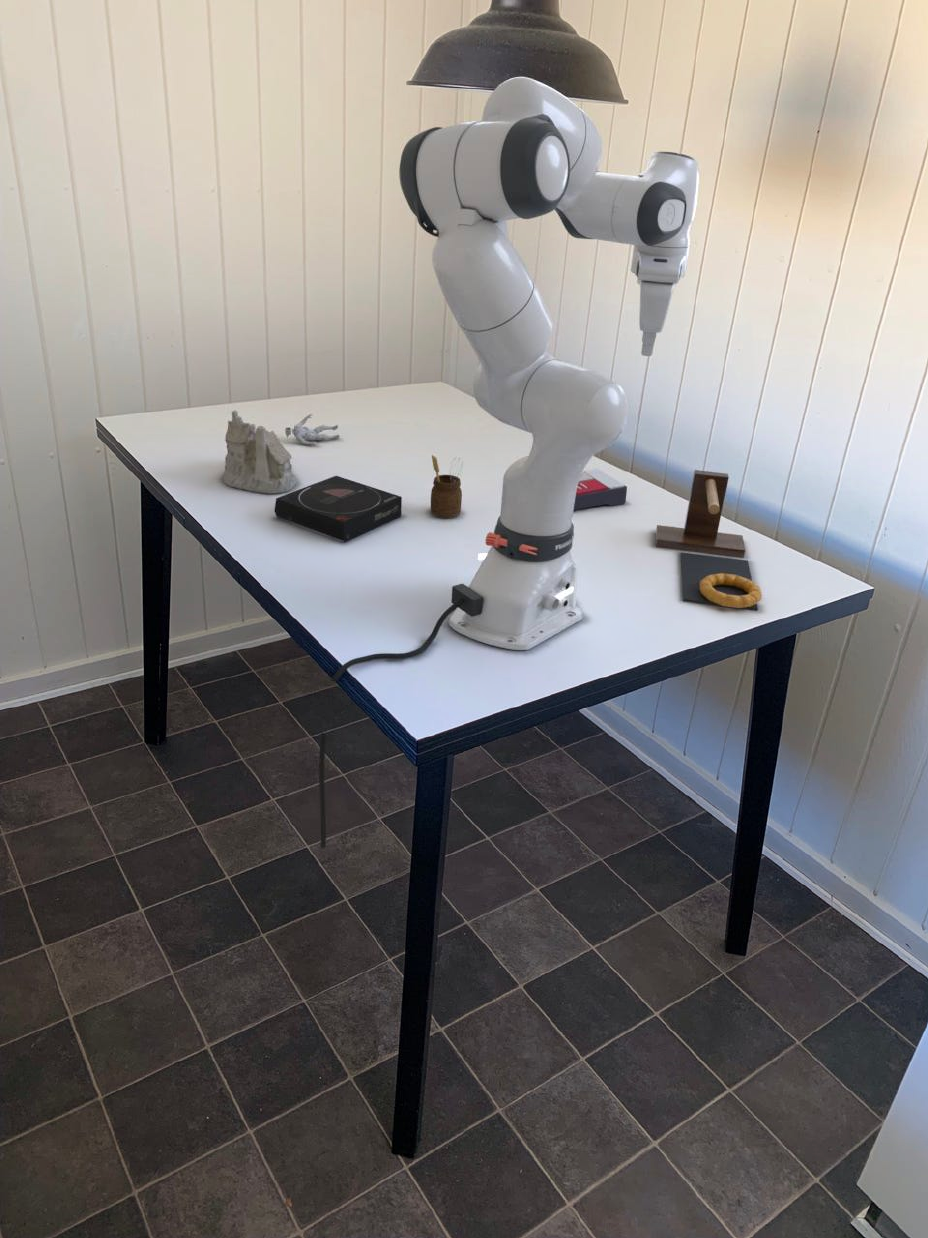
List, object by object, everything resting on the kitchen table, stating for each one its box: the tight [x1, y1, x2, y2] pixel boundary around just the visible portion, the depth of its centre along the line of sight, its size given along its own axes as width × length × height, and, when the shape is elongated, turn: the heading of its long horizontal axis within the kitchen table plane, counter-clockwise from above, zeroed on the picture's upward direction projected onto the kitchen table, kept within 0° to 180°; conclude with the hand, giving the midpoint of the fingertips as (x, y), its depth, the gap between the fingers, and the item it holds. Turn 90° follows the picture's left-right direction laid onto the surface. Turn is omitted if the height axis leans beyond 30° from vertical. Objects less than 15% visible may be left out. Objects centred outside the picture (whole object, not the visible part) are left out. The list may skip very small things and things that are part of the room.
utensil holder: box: [430, 454, 464, 519], centre depth 182 cm, size 6×6×12 cm
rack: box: [655, 469, 746, 558], centre depth 171 cm, size 16×16×14 cm
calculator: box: [573, 468, 628, 511], centre depth 195 cm, size 11×4×15 cm
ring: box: [700, 573, 763, 609], centre depth 159 cm, size 10×2×10 cm
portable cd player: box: [273, 475, 403, 544], centre depth 179 cm, size 16×17×4 cm
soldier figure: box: [284, 413, 340, 446], centre depth 216 cm, size 8×5×12 cm
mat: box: [680, 551, 759, 611], centre depth 165 cm, size 19×12×1 cm, turn 170°
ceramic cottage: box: [222, 409, 297, 495], centre depth 193 cm, size 16×16×15 cm
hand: (646, 348), depth 162 cm, fingers open, 8 cm apart
